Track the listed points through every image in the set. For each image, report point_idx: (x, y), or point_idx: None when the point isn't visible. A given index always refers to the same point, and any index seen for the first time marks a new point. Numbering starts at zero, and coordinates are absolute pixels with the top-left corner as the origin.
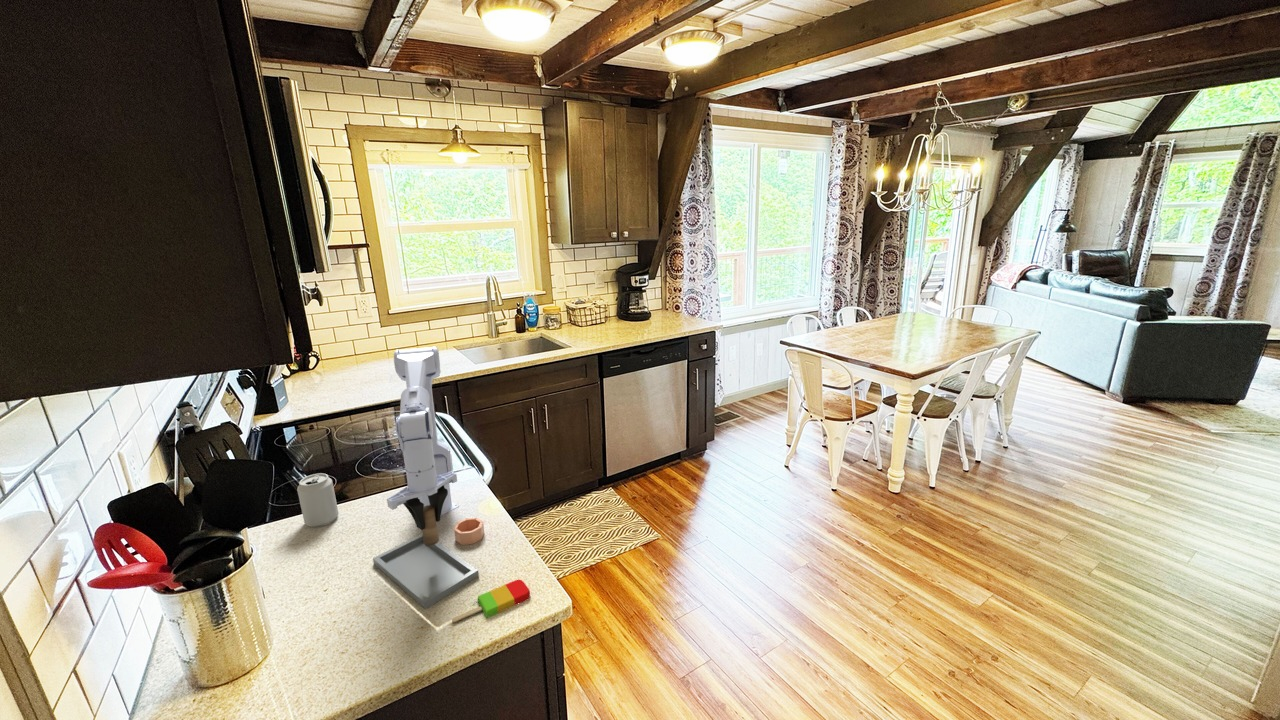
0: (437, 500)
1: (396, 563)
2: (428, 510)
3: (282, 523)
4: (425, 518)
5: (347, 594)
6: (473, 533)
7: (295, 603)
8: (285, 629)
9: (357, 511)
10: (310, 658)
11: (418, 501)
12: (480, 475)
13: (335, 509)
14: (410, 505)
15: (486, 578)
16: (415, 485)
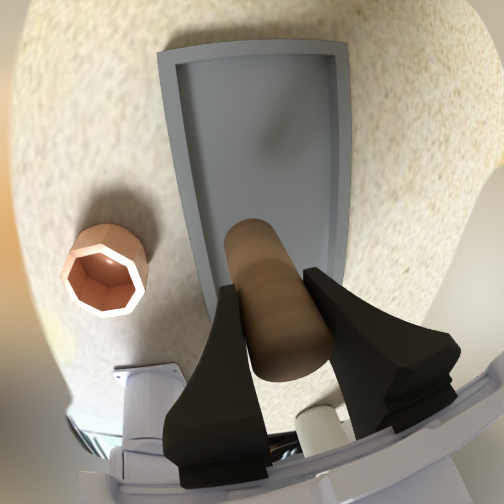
0: (254, 389)
1: (305, 266)
2: (297, 343)
3: (343, 416)
4: (311, 305)
5: (399, 235)
6: (96, 241)
7: (437, 265)
8: (466, 216)
9: (270, 418)
10: (478, 126)
11: (400, 397)
12: (68, 413)
13: (304, 426)
14: (449, 369)
15: (143, 42)
16: (470, 499)
